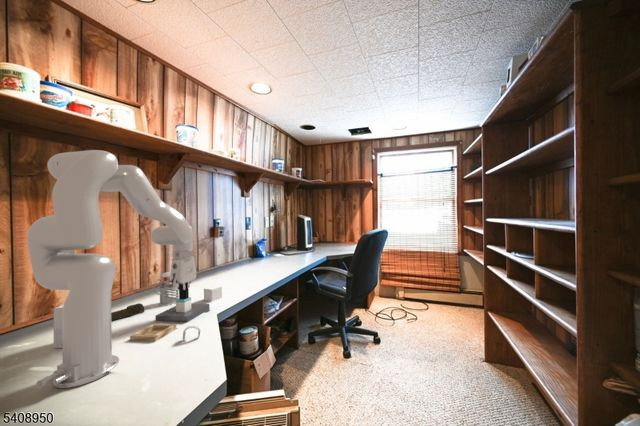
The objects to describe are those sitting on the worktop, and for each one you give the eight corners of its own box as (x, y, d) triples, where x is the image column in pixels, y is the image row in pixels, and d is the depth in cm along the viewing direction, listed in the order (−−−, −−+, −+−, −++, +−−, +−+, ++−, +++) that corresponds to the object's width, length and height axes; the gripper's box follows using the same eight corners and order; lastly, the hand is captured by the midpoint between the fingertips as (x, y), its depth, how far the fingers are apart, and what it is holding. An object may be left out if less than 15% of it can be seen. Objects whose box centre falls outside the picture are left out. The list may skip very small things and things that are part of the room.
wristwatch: (183, 341, 80) (183, 326, 80) (200, 338, 82) (200, 323, 82) (182, 345, 77) (182, 329, 77) (199, 342, 79) (199, 326, 79)
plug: (184, 317, 99) (184, 300, 99) (176, 317, 100) (175, 300, 100) (191, 313, 103) (191, 297, 103) (183, 313, 103) (182, 297, 104)
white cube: (212, 302, 119) (211, 289, 119) (203, 300, 122) (203, 288, 122) (222, 298, 124) (221, 286, 125) (214, 296, 127) (213, 285, 127)
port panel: (187, 324, 93) (187, 316, 93) (155, 323, 95) (155, 315, 95) (209, 310, 107) (209, 303, 107) (181, 309, 109) (181, 303, 109)
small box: (73, 347, 78) (72, 307, 79) (52, 348, 78) (52, 308, 78) (95, 335, 86) (95, 299, 87) (77, 336, 86) (76, 299, 86)
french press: (183, 302, 120) (182, 251, 121) (156, 308, 112) (155, 254, 112) (177, 298, 127) (176, 250, 128) (151, 304, 119) (150, 253, 119)
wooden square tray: (154, 344, 78) (154, 337, 78) (128, 343, 80) (128, 336, 80) (177, 330, 88) (177, 324, 88) (153, 329, 90) (153, 323, 90)
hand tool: (87, 330, 92) (87, 317, 92) (85, 327, 94) (85, 315, 95) (146, 314, 107) (146, 303, 107) (143, 312, 109) (143, 301, 109)
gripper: (177, 257, 94) (178, 305, 94) (202, 252, 109) (203, 293, 108) (160, 257, 95) (161, 304, 95) (187, 252, 110) (188, 292, 109)
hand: (183, 298), depth 102 cm, fingers closed
